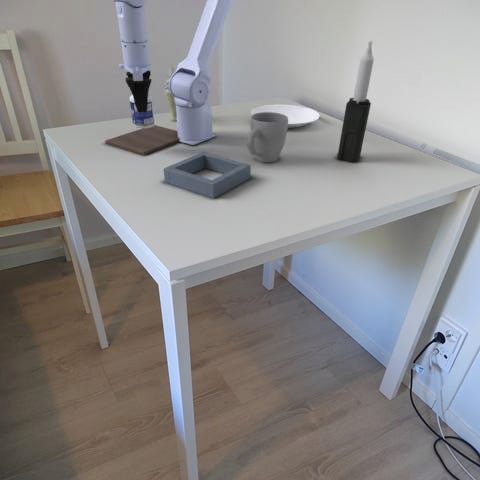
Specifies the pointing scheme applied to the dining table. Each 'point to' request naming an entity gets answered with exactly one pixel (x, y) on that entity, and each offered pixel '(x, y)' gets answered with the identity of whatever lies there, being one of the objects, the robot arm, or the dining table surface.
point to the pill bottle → (142, 114)
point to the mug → (267, 135)
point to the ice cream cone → (169, 95)
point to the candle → (357, 112)
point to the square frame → (185, 179)
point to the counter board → (145, 140)
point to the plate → (290, 113)
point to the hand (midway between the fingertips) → (142, 108)
